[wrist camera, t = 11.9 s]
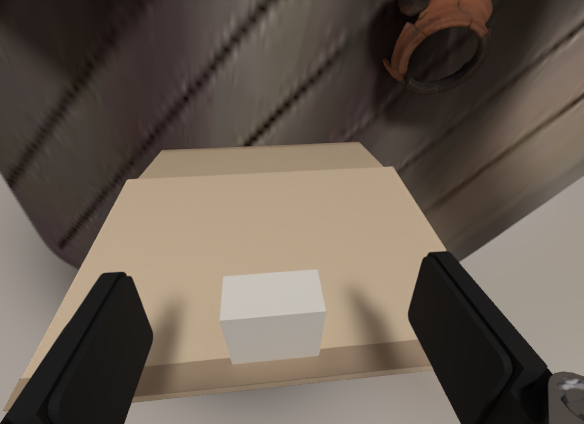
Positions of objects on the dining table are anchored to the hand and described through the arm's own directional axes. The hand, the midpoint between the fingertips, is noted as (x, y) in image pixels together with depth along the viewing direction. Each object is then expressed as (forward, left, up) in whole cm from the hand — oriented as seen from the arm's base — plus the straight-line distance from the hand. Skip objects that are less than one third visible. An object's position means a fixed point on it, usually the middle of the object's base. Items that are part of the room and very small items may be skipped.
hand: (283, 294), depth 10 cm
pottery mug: (-15, -9, -26) cm, 31 cm away
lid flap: (0, +5, -9) cm, 10 cm away
